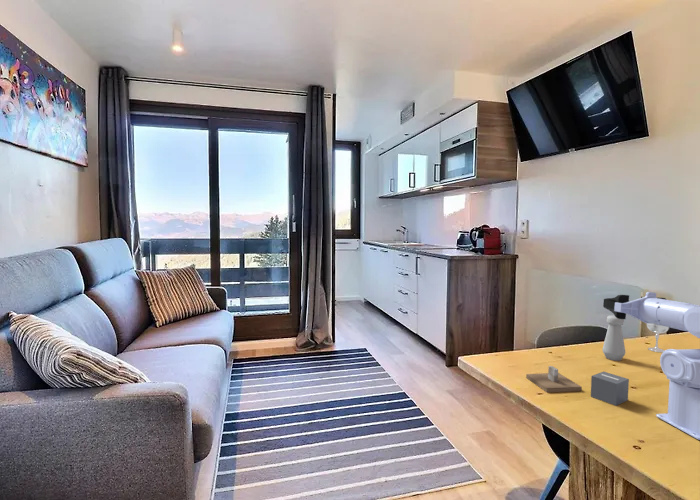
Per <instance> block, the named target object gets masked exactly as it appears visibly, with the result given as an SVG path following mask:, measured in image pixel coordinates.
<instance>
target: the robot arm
mask: <svg viewBox="0 0 700 500" xmlns="http://www.w3.org/2000/svg"><path fill="white" fill-rule="evenodd" d="M602 306H603V308H604V309H606V310H608V311H610V313H612V314H613V315H615V317H616V318H618V319H624V320H626V319H627V315H628V316H630V317H633V318H634V319H637V320H638V321H640V322H642V323H645V324H647V323H649V324H652V323H653V324H657V325H661V326H666V327H669V329H670V328H671V329H676V330H680V331H684V332H688V333H689V334H690V335H692V336H694V337H696V338H697V339H700V305H699V304H694V303H691V302H683V301H676V300H671V299H666V297H657V293H656V292H652V291H647V292H646V293H645V296H643V297H639V298H636V299H632V300H630V295H629V294H619V295H616V296H614V297H609V298H608V297H606V298H603V305H602ZM659 363H660V368H661V370H662V372H663V374H664V376H666V379H667V380H669V386H668V401H667V402H668V405H667V413H656V414H655V416H656V418H658V419H660V420H662V421H664V422H665V423H667V424H670V425H671V426H673V427H675V428H676V429H678V430H680V431H682V432H684V433H686V434H687V435H689V436H690V437H692V438H694V439H697V440H699V441H700V348H689V349H687V348H685V349H684V348H683V349H682V348H681V349H675V348H668V349H665V351H664V352H661V355H660V357H659Z"/></svg>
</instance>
